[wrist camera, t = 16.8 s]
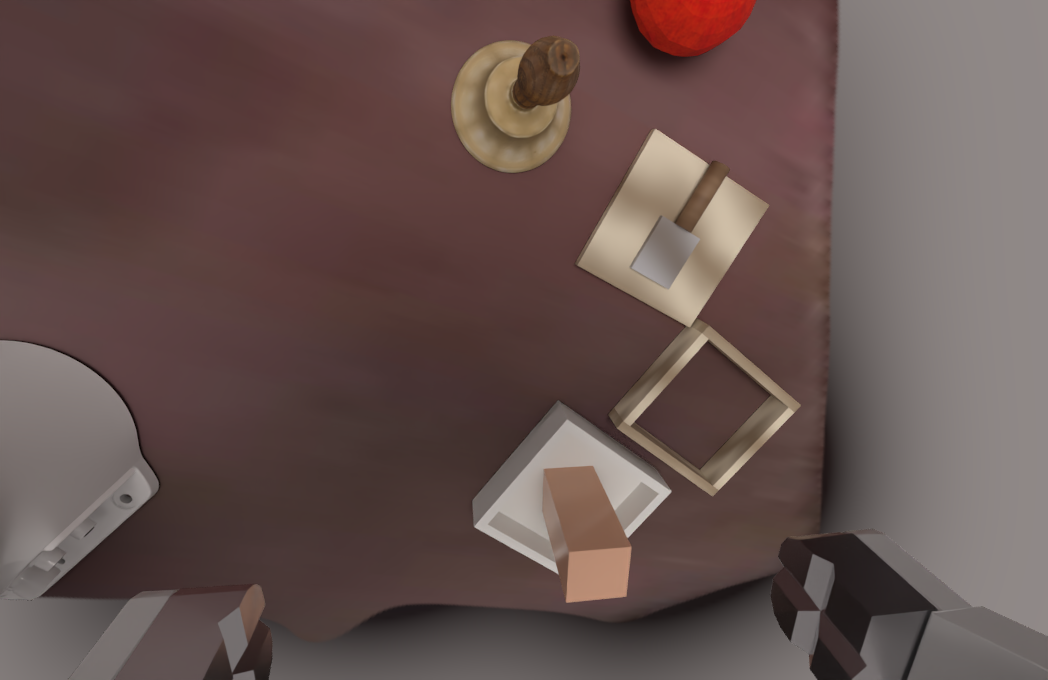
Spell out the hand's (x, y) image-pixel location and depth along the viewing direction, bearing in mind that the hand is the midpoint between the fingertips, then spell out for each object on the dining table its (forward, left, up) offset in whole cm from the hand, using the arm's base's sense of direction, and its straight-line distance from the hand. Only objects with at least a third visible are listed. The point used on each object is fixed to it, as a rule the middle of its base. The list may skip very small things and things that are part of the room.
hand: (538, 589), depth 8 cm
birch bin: (+2, -23, -31) cm, 39 cm away
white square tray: (-11, -19, -31) cm, 38 cm away
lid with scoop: (+11, -11, -31) cm, 35 cm away
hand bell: (+10, +4, -31) cm, 33 cm away
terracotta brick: (-11, -19, -30) cm, 37 cm away
